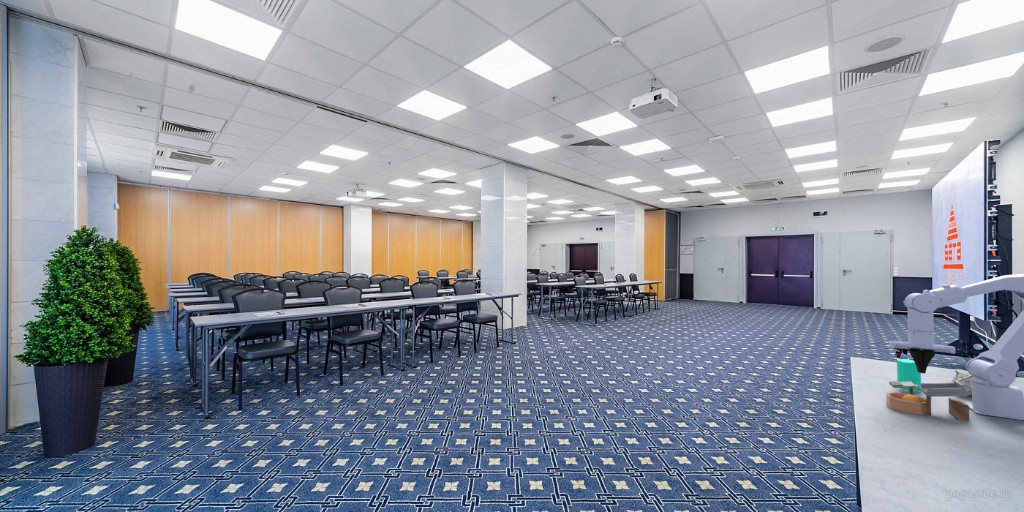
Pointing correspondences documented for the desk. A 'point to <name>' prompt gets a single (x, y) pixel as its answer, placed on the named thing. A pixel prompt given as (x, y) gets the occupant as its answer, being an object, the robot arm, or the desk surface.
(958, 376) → the game die
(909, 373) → the candle
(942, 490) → the desk surface
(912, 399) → the ball
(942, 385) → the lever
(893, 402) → the bowl
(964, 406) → the lever stand
